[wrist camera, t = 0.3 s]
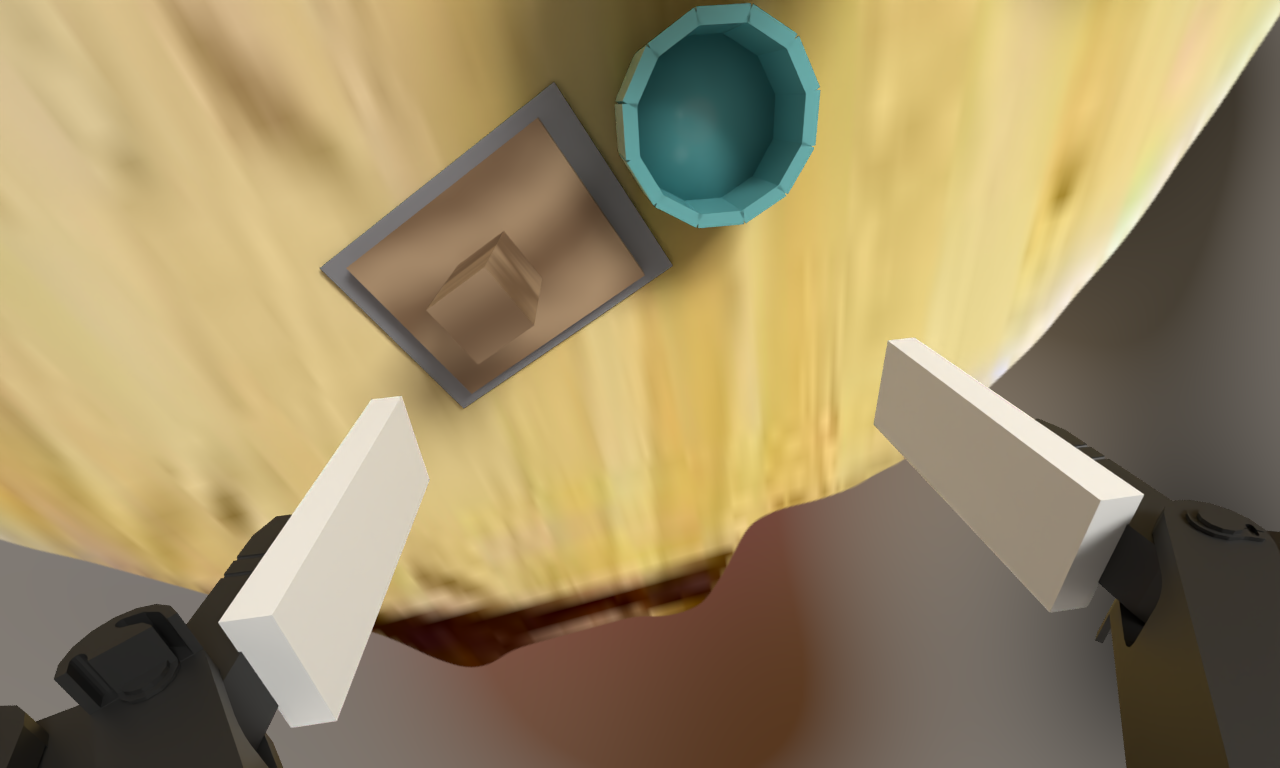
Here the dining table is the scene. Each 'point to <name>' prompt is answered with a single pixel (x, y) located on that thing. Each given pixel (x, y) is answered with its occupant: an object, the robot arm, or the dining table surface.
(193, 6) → the dining table surface
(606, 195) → the charcoal mat
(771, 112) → the teal bowl
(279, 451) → the dining table surface
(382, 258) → the walnut lid
